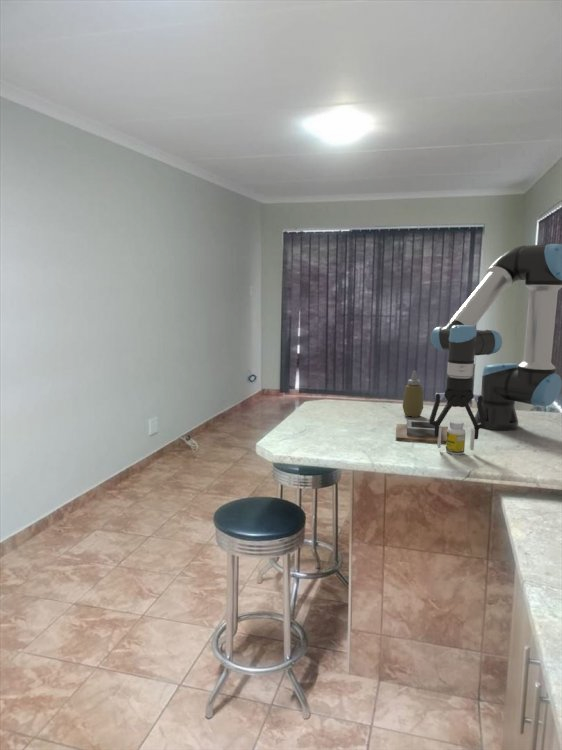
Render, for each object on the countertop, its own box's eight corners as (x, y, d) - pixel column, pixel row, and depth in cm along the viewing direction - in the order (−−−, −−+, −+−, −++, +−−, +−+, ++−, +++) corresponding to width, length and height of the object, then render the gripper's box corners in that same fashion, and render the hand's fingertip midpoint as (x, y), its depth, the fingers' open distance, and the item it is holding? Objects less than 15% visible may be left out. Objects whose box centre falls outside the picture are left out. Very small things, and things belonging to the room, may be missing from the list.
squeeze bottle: (425, 418, 208) (427, 372, 204) (404, 418, 208) (406, 372, 205) (420, 413, 215) (422, 369, 212) (400, 413, 216) (402, 369, 213)
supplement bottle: (442, 450, 168) (444, 420, 166) (457, 449, 169) (459, 419, 167) (451, 455, 162) (453, 424, 161) (467, 454, 164) (469, 423, 162)
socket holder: (447, 429, 192) (448, 420, 191) (452, 444, 174) (452, 433, 174) (396, 426, 196) (396, 417, 195) (395, 440, 178) (396, 429, 178)
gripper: (423, 376, 160) (419, 448, 164) (500, 380, 156) (494, 454, 160) (422, 372, 168) (418, 441, 171) (495, 375, 163) (490, 446, 167)
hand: (455, 447), depth 165 cm, fingers open, 9 cm apart
